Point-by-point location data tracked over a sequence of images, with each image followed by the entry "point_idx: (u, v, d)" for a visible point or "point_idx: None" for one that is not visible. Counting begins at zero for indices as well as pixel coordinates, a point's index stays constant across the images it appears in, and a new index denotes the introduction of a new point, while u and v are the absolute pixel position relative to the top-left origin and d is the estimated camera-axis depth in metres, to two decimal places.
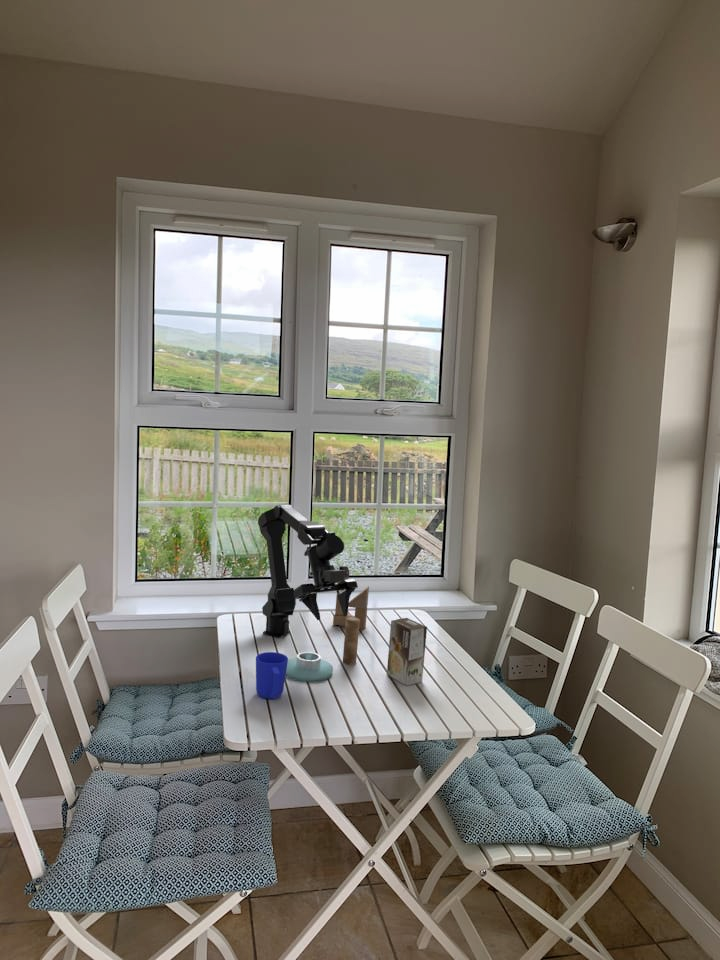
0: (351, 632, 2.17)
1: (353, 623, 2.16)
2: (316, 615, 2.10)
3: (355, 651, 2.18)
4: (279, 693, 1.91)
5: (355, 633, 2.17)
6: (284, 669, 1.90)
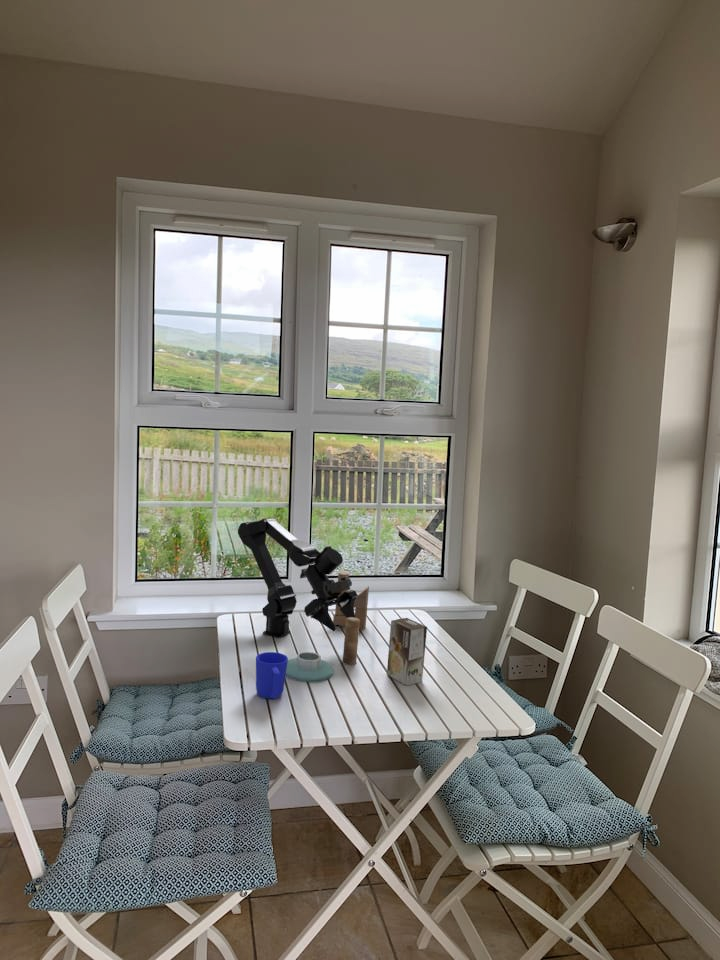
0: (351, 632, 2.17)
1: (353, 623, 2.16)
2: (331, 627, 2.17)
3: (355, 651, 2.18)
4: (279, 693, 1.91)
5: (355, 633, 2.17)
6: (284, 669, 1.90)
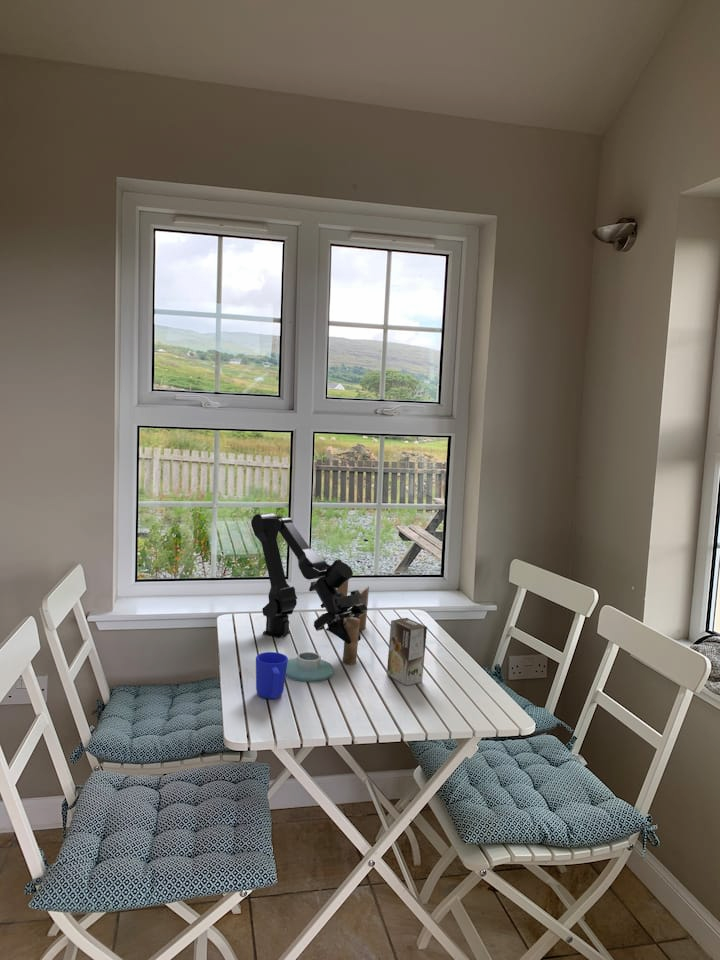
0: (351, 632, 2.17)
1: (353, 623, 2.16)
2: (346, 639, 2.17)
3: (355, 651, 2.18)
4: (279, 693, 1.91)
5: (355, 633, 2.17)
6: (284, 669, 1.90)
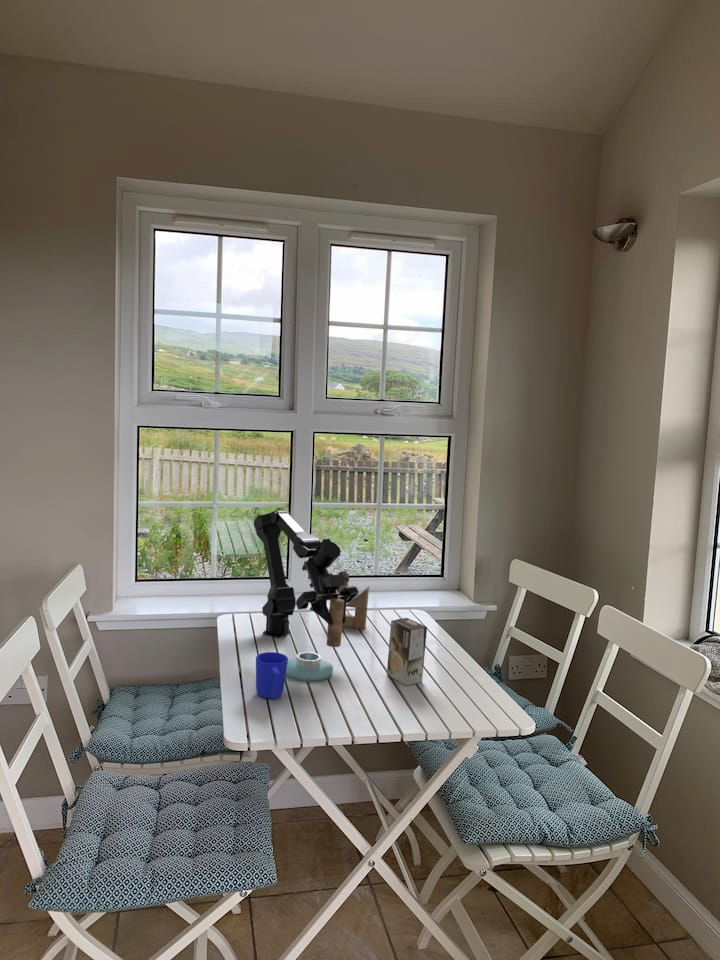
0: (333, 613, 2.11)
1: (336, 604, 2.10)
2: (328, 620, 2.11)
3: (338, 633, 2.12)
4: (279, 693, 1.91)
5: (338, 615, 2.11)
6: (284, 669, 1.90)
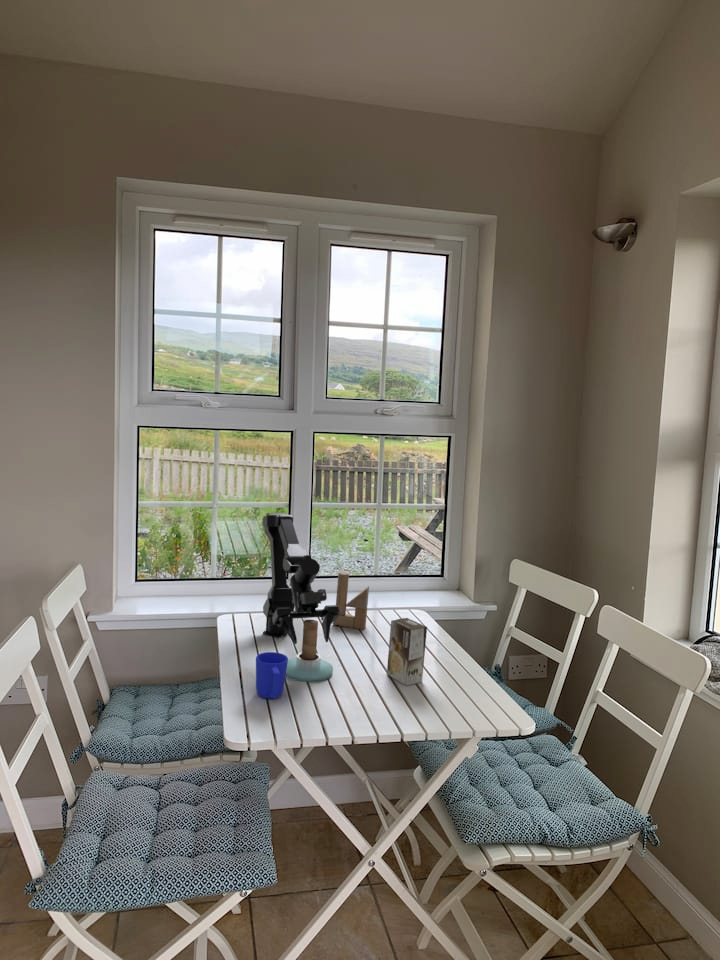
0: (305, 634, 2.07)
1: (307, 625, 2.07)
2: (293, 639, 2.06)
3: (311, 655, 2.08)
4: (279, 693, 1.91)
5: (310, 636, 2.07)
6: (284, 669, 1.90)
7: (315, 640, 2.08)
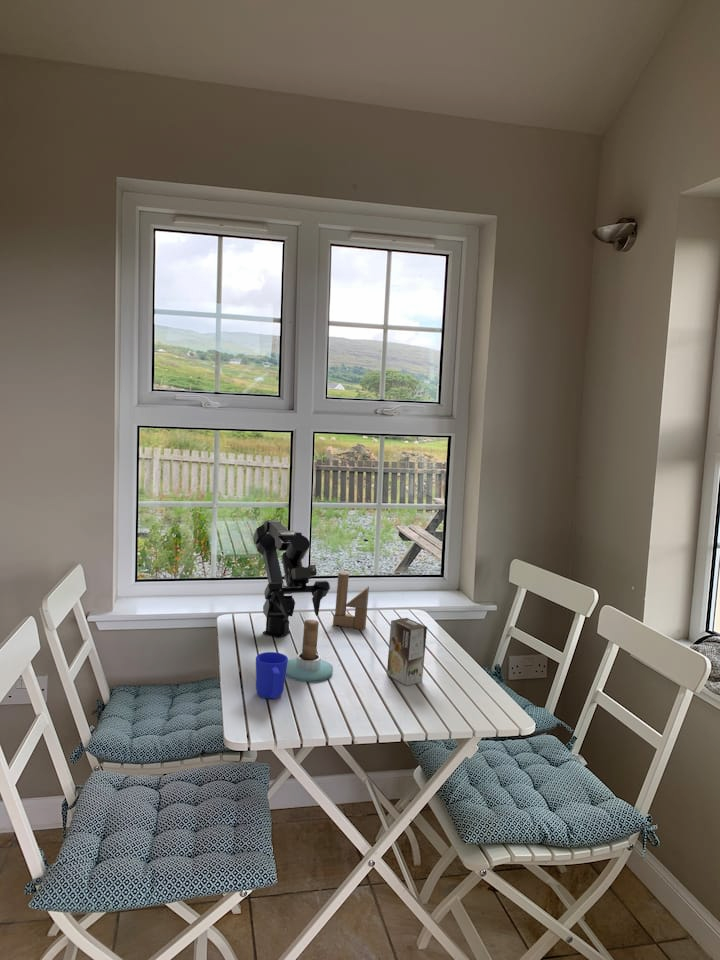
0: (306, 634, 2.07)
1: (308, 625, 2.06)
2: (284, 612, 2.14)
3: (311, 656, 2.08)
4: (279, 693, 1.91)
5: (310, 637, 2.07)
6: (284, 669, 1.90)
7: (315, 640, 2.08)
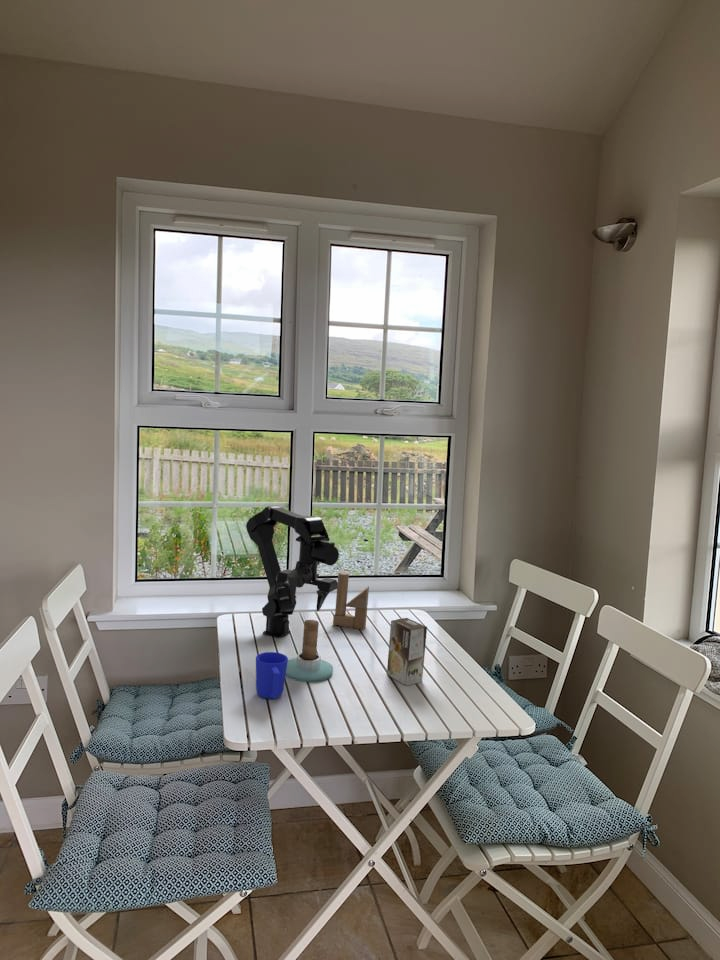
0: (306, 634, 2.07)
1: (308, 625, 2.06)
2: None
3: (311, 656, 2.08)
4: (279, 693, 1.91)
5: (310, 637, 2.07)
6: (284, 669, 1.90)
7: (315, 640, 2.08)
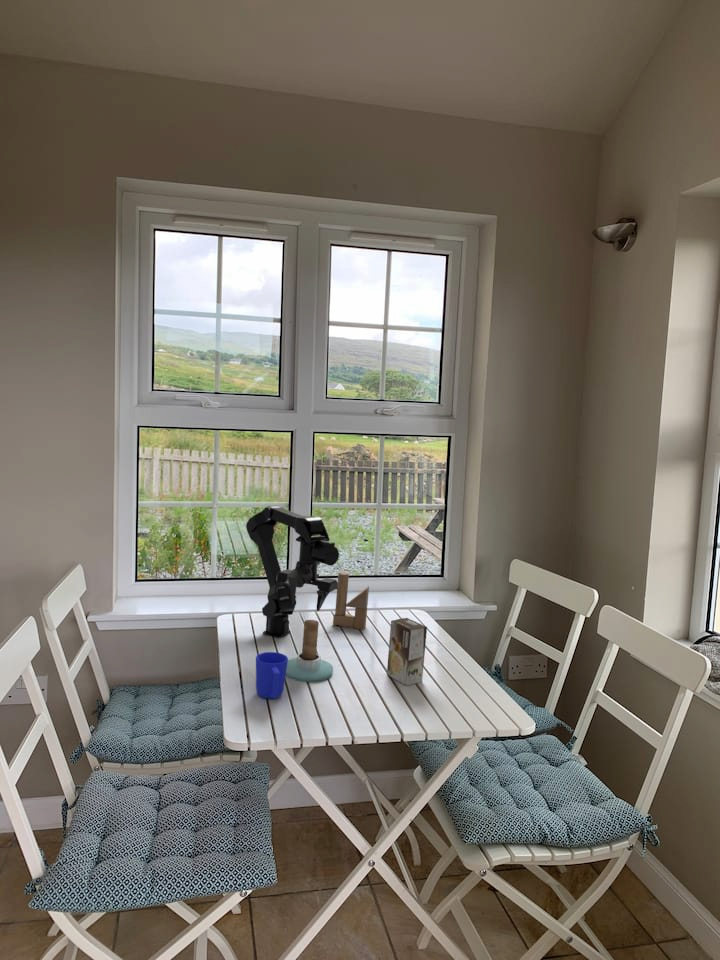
0: (306, 634, 2.07)
1: (308, 625, 2.06)
2: None
3: (311, 656, 2.08)
4: (279, 693, 1.91)
5: (310, 637, 2.07)
6: (284, 669, 1.90)
7: (315, 640, 2.08)
